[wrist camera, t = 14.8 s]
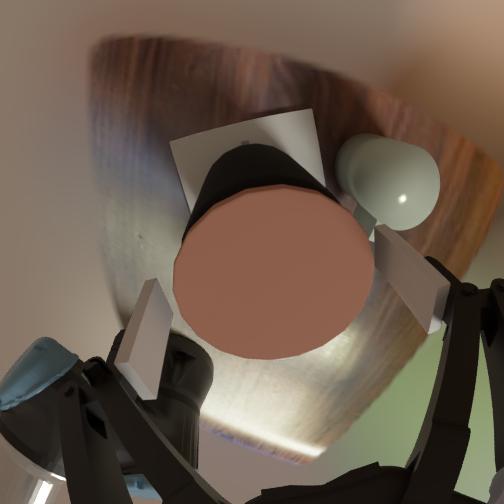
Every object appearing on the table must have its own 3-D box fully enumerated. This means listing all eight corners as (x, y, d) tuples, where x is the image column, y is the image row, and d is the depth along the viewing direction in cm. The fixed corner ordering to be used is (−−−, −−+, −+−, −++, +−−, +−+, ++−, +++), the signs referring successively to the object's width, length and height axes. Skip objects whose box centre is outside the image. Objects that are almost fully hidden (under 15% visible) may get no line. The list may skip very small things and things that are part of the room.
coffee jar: (205, 237, 33) (184, 361, 17) (202, 142, 28) (159, 188, 12) (299, 237, 33) (351, 354, 17) (306, 144, 28) (394, 193, 12)
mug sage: (348, 121, 28) (388, 129, 20) (404, 149, 29) (450, 166, 21) (317, 204, 32) (344, 238, 24) (373, 223, 34) (409, 258, 26)
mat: (208, 262, 35) (208, 265, 34) (170, 141, 28) (168, 142, 27) (330, 234, 34) (332, 237, 34) (310, 108, 27) (312, 108, 27)
